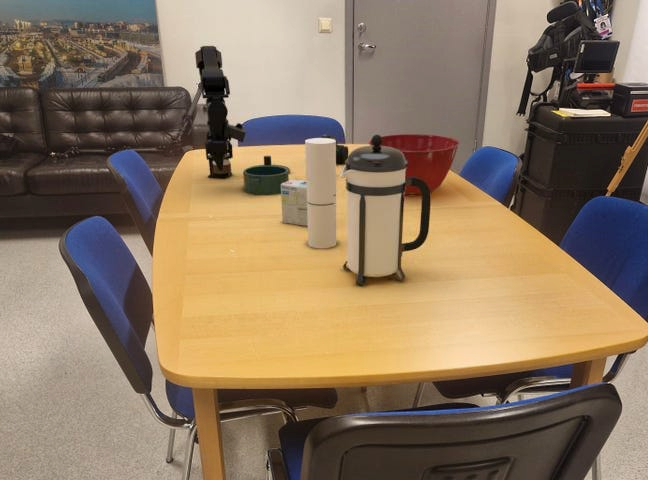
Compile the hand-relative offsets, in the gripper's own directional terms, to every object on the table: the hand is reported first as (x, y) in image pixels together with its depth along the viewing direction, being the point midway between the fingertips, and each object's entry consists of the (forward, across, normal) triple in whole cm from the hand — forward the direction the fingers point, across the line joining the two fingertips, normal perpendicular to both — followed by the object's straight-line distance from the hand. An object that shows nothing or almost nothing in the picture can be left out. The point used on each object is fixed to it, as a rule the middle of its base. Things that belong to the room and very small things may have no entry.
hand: (221, 168), depth 200 cm
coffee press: (+7, -76, -40) cm, 87 cm away
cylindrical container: (+7, -55, -29) cm, 63 cm away
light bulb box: (+7, -37, -25) cm, 45 cm away
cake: (+1, 0, 0) cm, 1 cm away
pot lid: (+6, +24, -14) cm, 28 cm away
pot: (+7, 0, -14) cm, 16 cm away
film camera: (+7, +37, -38) cm, 54 cm away
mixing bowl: (+7, -5, -61) cm, 62 cm away
